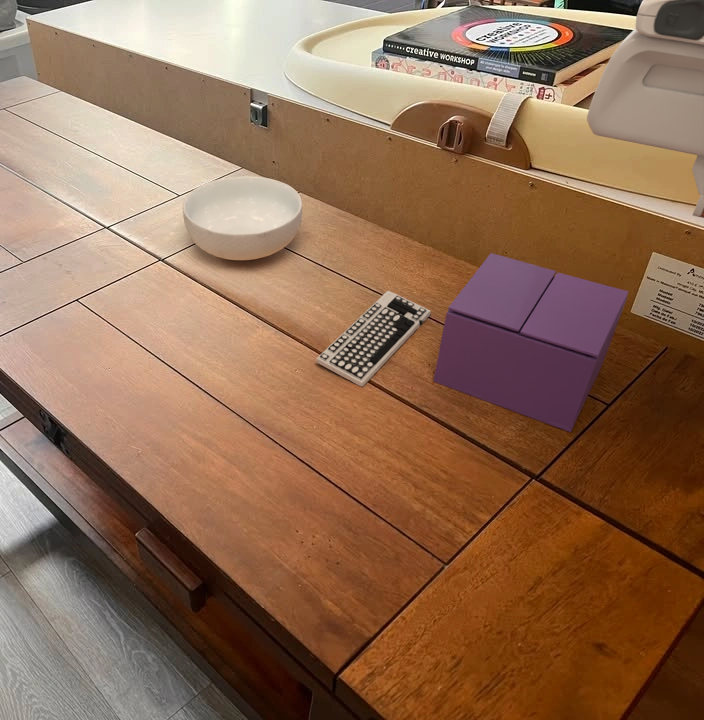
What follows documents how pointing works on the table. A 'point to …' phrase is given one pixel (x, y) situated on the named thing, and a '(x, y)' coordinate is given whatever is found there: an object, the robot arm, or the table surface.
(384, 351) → the keyboard
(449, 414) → the table surface
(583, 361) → the box
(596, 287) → the flap
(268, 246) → the cereal bowl
